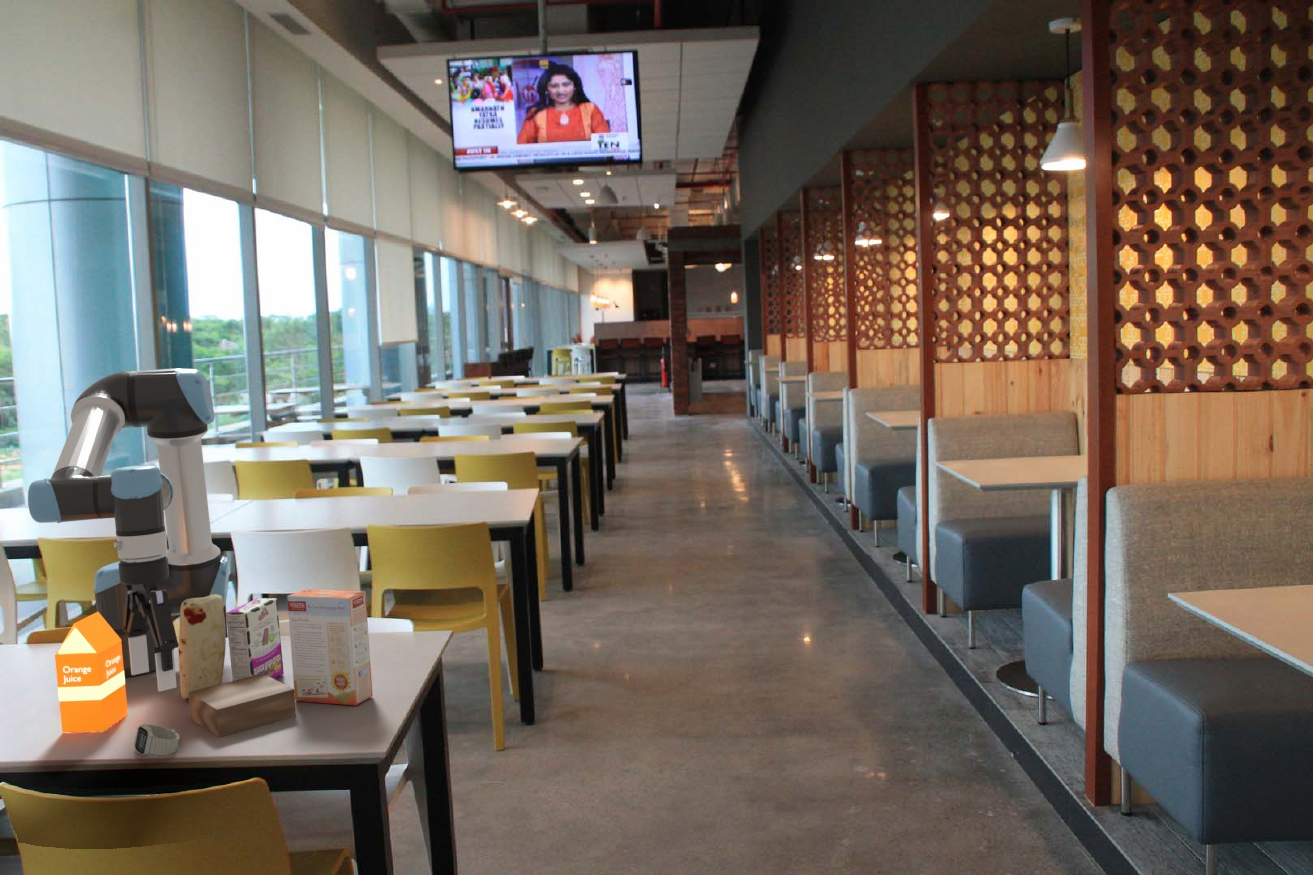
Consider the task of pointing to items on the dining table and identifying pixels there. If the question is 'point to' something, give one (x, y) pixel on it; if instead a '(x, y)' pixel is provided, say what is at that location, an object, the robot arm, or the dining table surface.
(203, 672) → the food model
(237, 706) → the walnut base
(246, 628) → the candy bar box
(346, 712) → the dining table surface
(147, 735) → the wristwatch
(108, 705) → the orange juice
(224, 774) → the dining table surface
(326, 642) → the cracker box
